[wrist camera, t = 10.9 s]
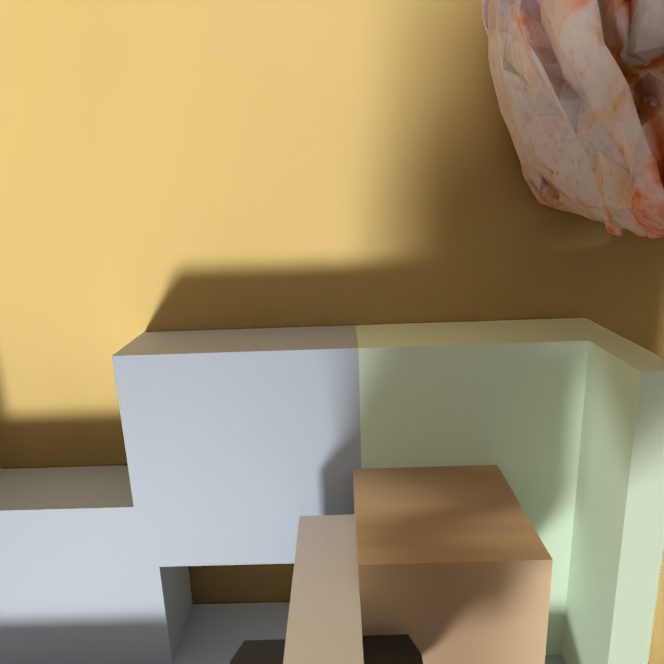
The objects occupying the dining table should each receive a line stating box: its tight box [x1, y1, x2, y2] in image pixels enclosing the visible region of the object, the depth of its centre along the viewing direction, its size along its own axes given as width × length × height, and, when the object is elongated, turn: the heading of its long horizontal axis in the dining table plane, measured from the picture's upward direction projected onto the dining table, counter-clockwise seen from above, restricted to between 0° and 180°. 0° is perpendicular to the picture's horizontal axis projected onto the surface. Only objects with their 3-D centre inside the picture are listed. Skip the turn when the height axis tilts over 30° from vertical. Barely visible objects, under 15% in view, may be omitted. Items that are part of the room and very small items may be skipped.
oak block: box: [353, 465, 553, 664], centre depth 14 cm, size 4×4×4 cm
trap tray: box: [0, 318, 664, 664], centre depth 16 cm, size 26×11×5 cm, turn 92°
